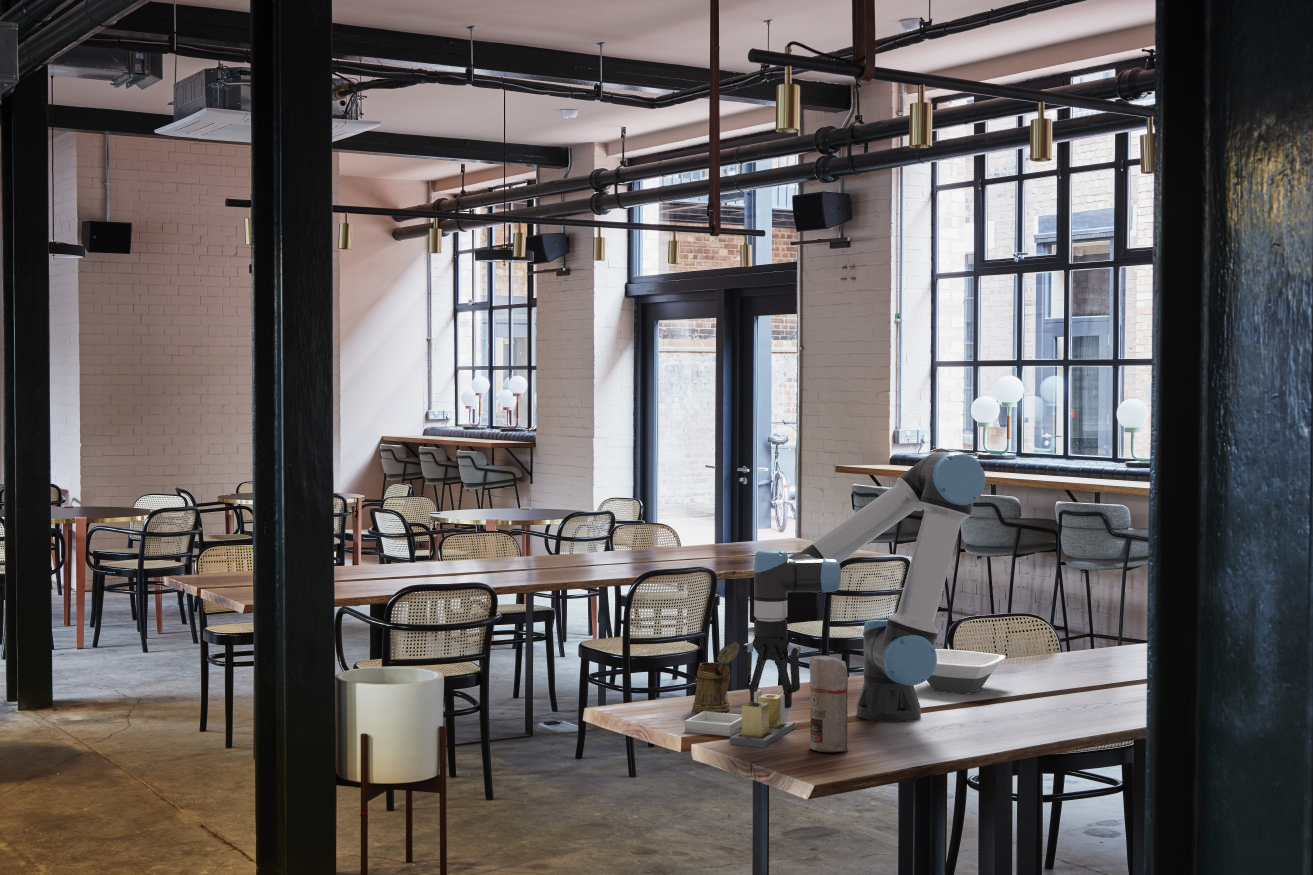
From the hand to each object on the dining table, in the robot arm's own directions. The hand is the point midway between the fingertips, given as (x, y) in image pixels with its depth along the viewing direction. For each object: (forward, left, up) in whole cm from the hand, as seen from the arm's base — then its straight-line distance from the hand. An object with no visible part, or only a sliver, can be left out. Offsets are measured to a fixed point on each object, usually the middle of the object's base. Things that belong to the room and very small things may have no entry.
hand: (770, 720), depth 289 cm
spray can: (-17, +11, -3) cm, 20 cm away
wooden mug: (+19, -14, -3) cm, 24 cm away
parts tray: (+12, +3, -2) cm, 13 cm away
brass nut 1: (0, +10, -2) cm, 10 cm away
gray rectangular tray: (0, +5, -2) cm, 6 cm away
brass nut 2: (0, 0, -2) cm, 2 cm away
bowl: (-28, -67, -3) cm, 73 cm away
